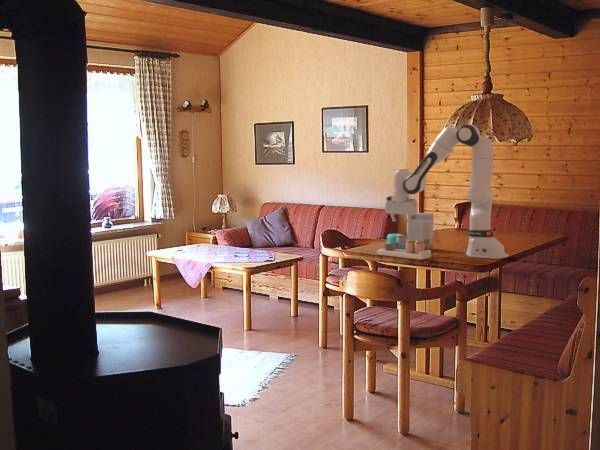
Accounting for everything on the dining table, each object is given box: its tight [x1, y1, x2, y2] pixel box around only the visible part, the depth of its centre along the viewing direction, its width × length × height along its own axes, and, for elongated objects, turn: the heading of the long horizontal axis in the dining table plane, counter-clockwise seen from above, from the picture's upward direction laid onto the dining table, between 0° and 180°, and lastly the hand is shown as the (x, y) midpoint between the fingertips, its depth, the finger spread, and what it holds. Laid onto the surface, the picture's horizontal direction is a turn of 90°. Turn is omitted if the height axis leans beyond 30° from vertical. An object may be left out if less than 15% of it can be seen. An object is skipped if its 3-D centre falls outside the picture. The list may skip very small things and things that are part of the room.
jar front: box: [414, 241, 425, 254], centre depth 377 cm, size 5×5×9 cm
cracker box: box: [407, 212, 434, 251], centre depth 409 cm, size 14×6×21 cm, turn 70°
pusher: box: [384, 242, 399, 251], centre depth 392 cm, size 2×11×6 cm, turn 137°
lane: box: [376, 248, 432, 260], centre depth 384 cm, size 29×9×4 cm, turn 47°
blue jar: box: [396, 234, 407, 250], centre depth 402 cm, size 5×5×9 cm
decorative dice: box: [386, 233, 402, 244], centre depth 414 cm, size 8×8×8 cm
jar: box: [406, 239, 416, 254], centre depth 381 cm, size 5×5×9 cm
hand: (400, 222), depth 401 cm, fingers open, 8 cm apart
